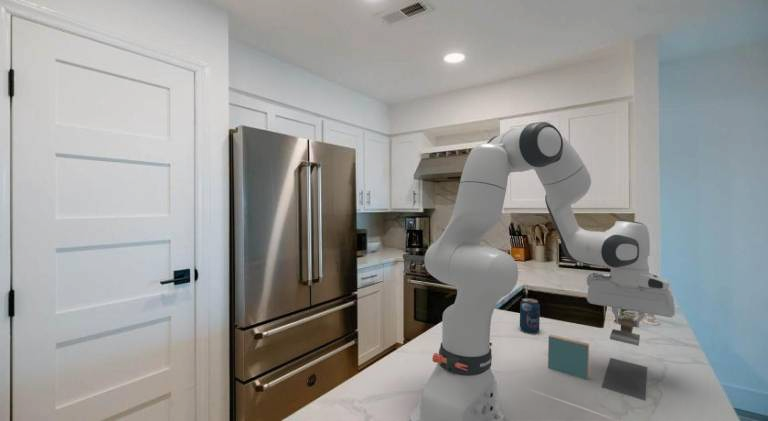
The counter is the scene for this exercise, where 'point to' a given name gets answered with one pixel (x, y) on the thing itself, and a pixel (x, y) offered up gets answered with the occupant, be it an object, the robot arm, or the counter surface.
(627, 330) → the grey panel with knob
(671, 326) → the counter surface
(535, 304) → the soda can
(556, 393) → the counter surface
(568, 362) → the tile
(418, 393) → the counter surface
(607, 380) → the mat
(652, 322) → the chess piece
